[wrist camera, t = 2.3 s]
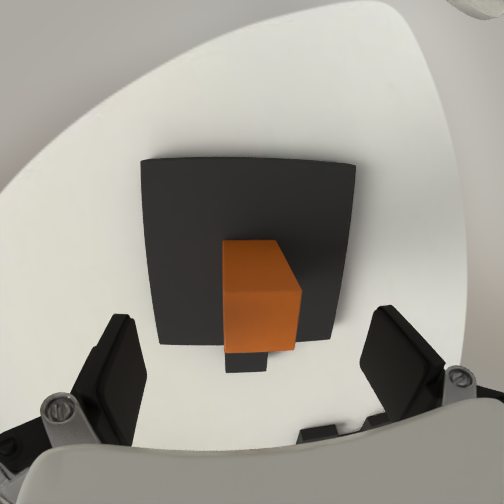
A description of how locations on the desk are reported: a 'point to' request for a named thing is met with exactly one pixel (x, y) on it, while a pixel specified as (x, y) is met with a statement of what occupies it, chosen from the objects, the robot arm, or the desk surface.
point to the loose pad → (242, 213)
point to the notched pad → (331, 432)
